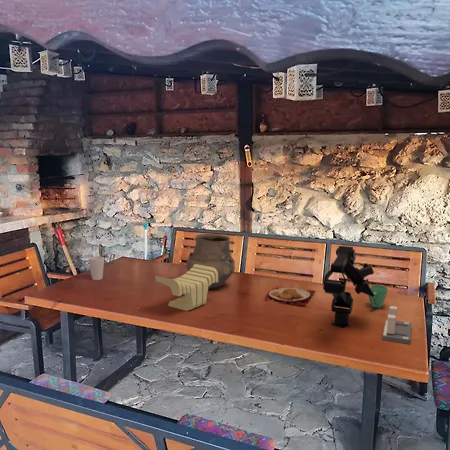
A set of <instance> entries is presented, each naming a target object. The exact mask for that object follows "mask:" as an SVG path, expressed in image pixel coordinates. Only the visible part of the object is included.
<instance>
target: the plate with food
mask: <svg viewBox="0 0 450 450" xmlns="http://www.w3.org/2000/svg"><path fill="white" fill-rule="evenodd" d="M267 293H268V294H267ZM267 293H266V296H265V297H267V298H265V299H264V300H265V301H264V302H268V301H270V300H272V299H273V300H275V301H274V302H277V303H278V304H281V305H287V303H289V305H292V306H303V307H304V306H306V305H307V304H308V303H309V301H310V300H311V298H312V297H313V295H314V294H315V293H316V290H313V289H312V290H311V289H309V290H307V289H302V288H300V287H299V288H298V287H293V286H292V287H279V289H274V288H273V289H271V290H270V291H267ZM269 297H270V298H269ZM268 298H269V299H268ZM267 300H268V301H267Z"/></svg>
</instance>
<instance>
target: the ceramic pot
mask: <svg viewBox="0 0 450 450" xmlns="http://www.w3.org/2000/svg"><path fill="white" fill-rule="evenodd" d="M230 239H231V237H229V236H227V235H224V234H215V233H201V234H197V235H195V246H194V249H193V252H191V251H190V253H189V256H188V258H187V260H186V269H187V272H188V271H189V270H190V269H191V268H193V266H194V265H195V264H198V265H203V266H208V267H213V268H215V269H216V270H217V272H218V282H215V283H212V284H211V285H210V286H209V287H208V290H209V289H210V290H211V289H217V288H221V286H224V285H223V284H225V283H226V282H227V280H229V279H230V277H231V276H232V275H233V273H234V272H235V269H236V267H235V266H236V265H235V260H234V257H232V255H231V249H230Z"/></svg>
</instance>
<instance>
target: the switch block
mask: <svg viewBox="0 0 450 450" xmlns="http://www.w3.org/2000/svg"><path fill="white" fill-rule="evenodd" d="M387 322H388V318H386V319H385V322H384V327H383V332H382V337H381V340H382V341H387V342H393V343H398V344H406V345H411V340H412V339H411V338H412V322H407V321H401V320H400V321H399V320H396V325H395V333H394V334H388V333H387Z"/></svg>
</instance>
